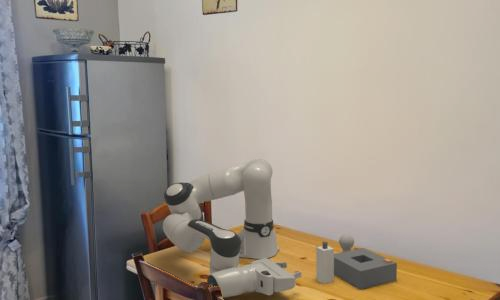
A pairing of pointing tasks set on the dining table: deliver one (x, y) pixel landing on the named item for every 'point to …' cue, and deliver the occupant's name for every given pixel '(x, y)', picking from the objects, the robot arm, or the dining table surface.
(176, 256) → the dining table surface
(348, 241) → the light bulb
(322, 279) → the plug
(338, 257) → the socket housing
